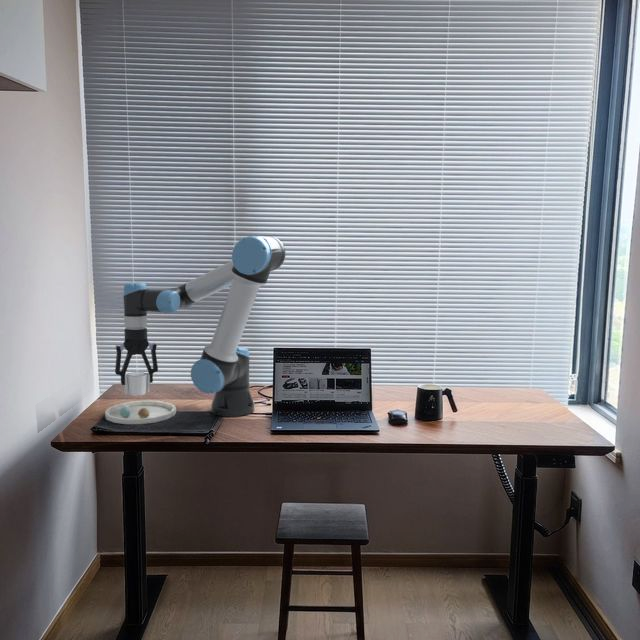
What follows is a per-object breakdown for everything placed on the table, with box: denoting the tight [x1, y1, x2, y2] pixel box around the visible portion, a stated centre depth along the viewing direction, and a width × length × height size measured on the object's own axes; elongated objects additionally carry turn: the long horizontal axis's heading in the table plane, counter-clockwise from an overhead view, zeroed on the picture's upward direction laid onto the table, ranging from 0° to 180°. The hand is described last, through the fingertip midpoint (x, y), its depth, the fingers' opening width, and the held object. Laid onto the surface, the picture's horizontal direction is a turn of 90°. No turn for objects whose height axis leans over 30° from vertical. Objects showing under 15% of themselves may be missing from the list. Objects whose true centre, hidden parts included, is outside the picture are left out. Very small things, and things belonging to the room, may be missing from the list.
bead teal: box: [120, 407, 131, 417], centre depth 213 cm, size 4×4×4 cm
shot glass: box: [126, 371, 148, 397], centre depth 221 cm, size 7×7×7 cm
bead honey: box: [138, 408, 149, 418], centre depth 212 cm, size 4×4×4 cm
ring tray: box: [104, 400, 177, 425], centre depth 217 cm, size 23×23×2 cm
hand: (137, 392), depth 222 cm, fingers closed on shot glass, 7 cm apart
